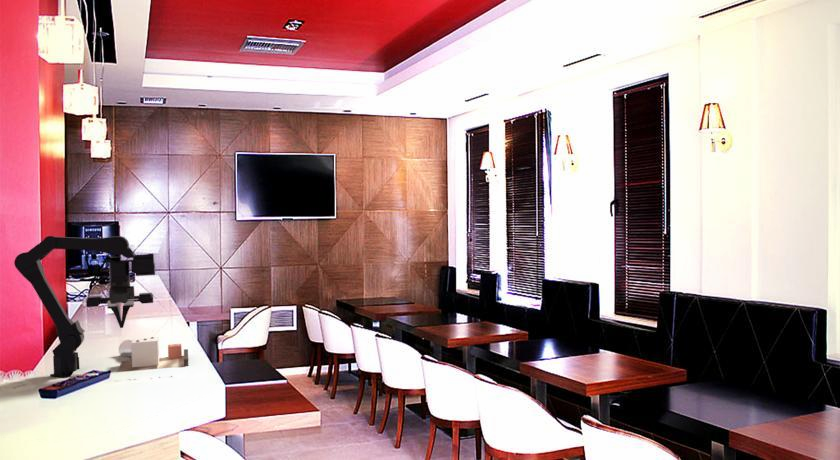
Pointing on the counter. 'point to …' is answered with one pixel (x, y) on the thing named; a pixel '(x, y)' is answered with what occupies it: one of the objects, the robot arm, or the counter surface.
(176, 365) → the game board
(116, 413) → the counter surface
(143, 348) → the ivory die
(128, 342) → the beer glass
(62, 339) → the robot arm
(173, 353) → the terracotta die
